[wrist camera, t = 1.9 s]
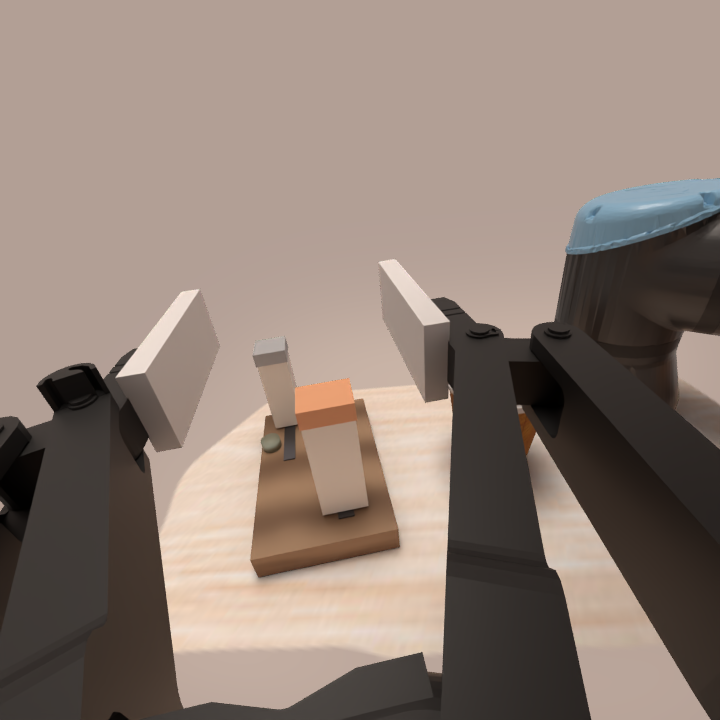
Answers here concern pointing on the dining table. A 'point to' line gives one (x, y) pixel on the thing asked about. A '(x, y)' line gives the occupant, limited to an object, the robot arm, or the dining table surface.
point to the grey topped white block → (277, 379)
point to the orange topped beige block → (332, 444)
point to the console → (315, 506)
